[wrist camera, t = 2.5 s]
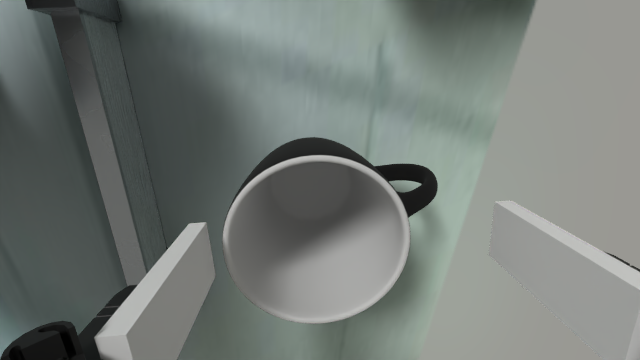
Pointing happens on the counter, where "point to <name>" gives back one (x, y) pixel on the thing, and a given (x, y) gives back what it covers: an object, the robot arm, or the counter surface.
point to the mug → (321, 230)
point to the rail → (109, 126)
